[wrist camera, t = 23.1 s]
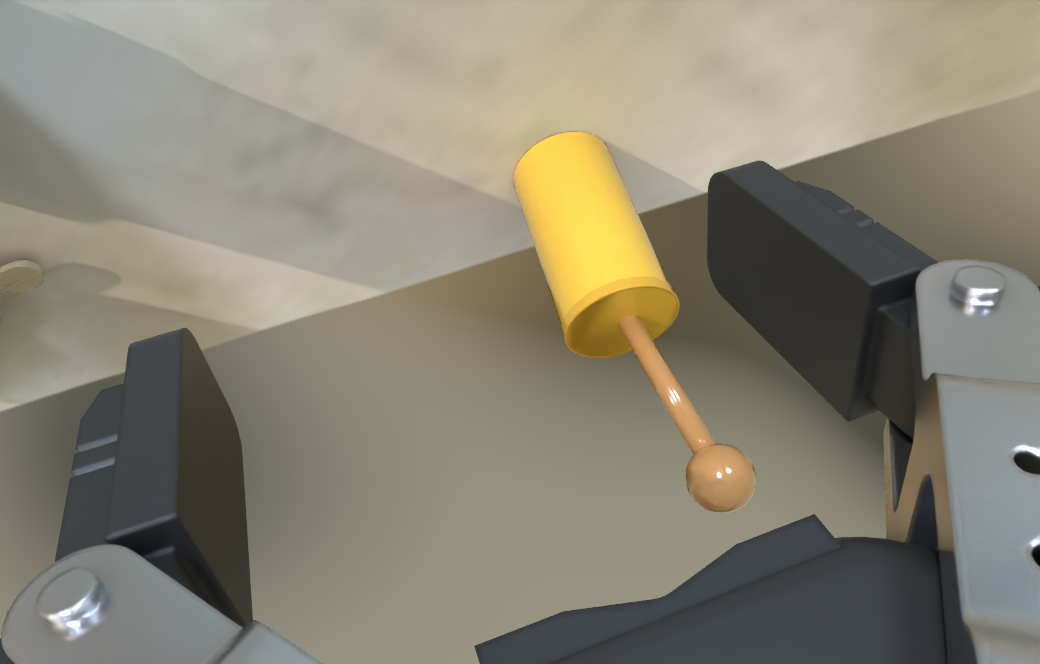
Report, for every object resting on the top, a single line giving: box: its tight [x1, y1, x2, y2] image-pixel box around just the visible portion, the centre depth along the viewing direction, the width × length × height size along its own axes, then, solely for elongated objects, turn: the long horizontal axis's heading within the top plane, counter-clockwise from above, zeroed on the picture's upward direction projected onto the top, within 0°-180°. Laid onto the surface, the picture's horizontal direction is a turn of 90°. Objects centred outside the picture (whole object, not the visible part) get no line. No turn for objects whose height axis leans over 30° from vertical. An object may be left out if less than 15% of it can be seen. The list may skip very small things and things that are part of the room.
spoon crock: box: [513, 132, 756, 513], centre depth 39 cm, size 6×6×22 cm
